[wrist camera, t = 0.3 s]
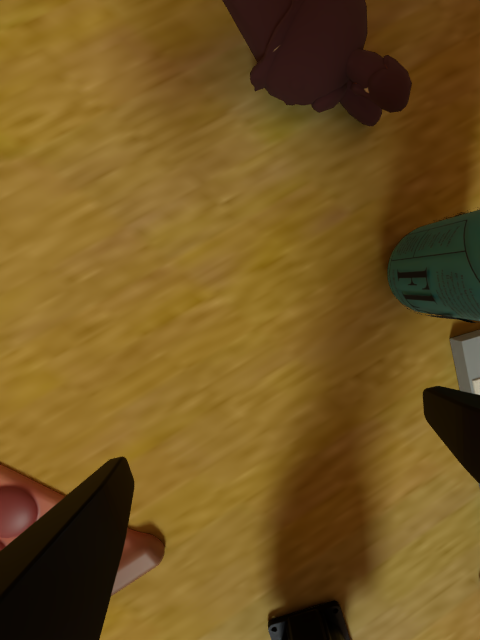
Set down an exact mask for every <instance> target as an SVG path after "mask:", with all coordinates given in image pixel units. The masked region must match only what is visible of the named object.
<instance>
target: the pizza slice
mask: <svg viewBox="0 0 480 640" xmlns="http://www.w3.org/2000/svg"><path fill="white" fill-rule="evenodd" d="M64 497H65V496H63V495H61V494H59V493H57V492H55V491H53V490H51V489H49V488H47V487H45V486H43V485H41V484H39V483H37V482H35V481H33V480H31V479H29V478H27V477H25V476H23V475H21V474H19V473H17V472H15V471H13V470H11V469H9V468H7V467H5V466H3V465H1V464H0V551H1V550H2V549H3V548H5V547H6V546H7V545H8V544H9V543H10V542H12V541H13V540H14V539H15V538H16V537H18V536H19V535H20V534H21V533H22V532H24V531H25V530H26V529H27V528H28V527H30V526H31V525H32V524H33V523H34V522H36V521H37V520H38V519H39V518H40V517H42V516H43V515H44V514H45V513H46V512H48V511H49V510H50V509H51V508H52V507H54V506H55V505H56V504H57V503H58V502H60V501H61V500H62V499H63V498H64ZM163 556H164V545H163V543H162V542H161V541H160V540H159V539H157V538H156V537H155V536H153V535H151V534H147V533H142V532H138V531H134V530H132V529H130V528H127V534H126V539H125V544H124V548H123V553H122V556H121V560H120V564H119V568H118V571H117V575H116V579H115V582H114V586H113V590H112V594H111V596H112V595H114V594H115V593H117V592H118V591H120V590H121V589H123V588H124V587H126V586H127V585H129V584H130V583H132V582H134V581H135V580H137V579H138V578H140V577H141V576H143V575H144V574H146V573H147V572H149V571H150V570H152V569H153V568H155V567H156V566H158V565H159V564H160V562H161V561H162V559H163Z"/></svg>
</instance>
